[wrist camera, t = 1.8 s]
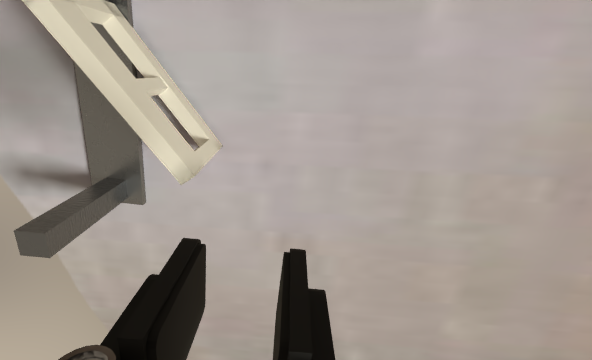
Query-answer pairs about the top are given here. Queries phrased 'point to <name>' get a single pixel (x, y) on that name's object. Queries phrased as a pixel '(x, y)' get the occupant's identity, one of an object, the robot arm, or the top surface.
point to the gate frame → (93, 165)
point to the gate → (129, 80)
